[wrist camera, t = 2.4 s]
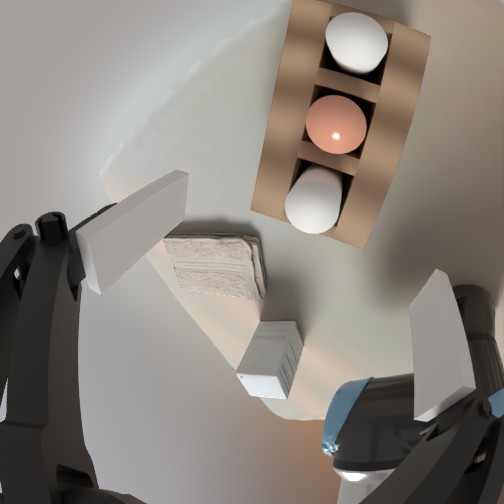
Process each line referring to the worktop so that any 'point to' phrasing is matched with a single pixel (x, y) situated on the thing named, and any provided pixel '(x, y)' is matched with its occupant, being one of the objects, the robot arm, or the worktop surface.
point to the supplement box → (271, 359)
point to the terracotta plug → (336, 124)
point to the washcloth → (218, 263)
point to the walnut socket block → (322, 78)
